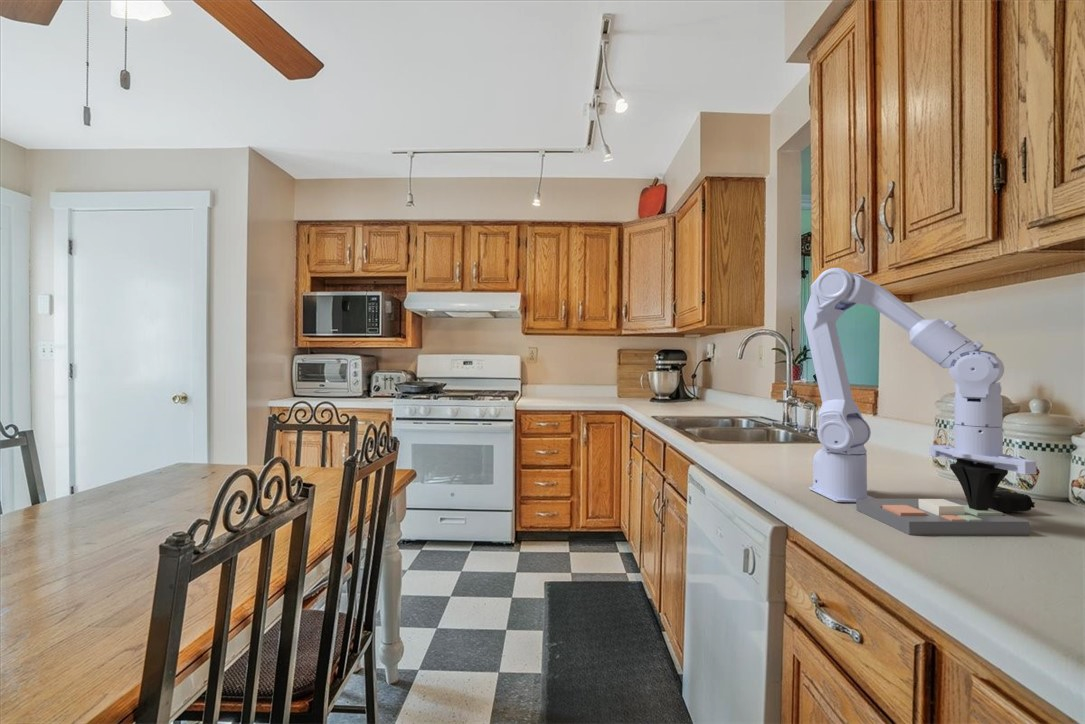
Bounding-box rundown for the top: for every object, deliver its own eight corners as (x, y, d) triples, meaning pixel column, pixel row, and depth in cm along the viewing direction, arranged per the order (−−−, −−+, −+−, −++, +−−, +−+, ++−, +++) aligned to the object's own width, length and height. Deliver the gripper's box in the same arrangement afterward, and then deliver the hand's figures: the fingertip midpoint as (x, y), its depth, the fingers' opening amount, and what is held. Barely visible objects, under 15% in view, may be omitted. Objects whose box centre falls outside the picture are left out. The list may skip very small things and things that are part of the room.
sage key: (955, 518, 77) (954, 505, 77) (979, 518, 77) (979, 505, 77) (977, 526, 73) (977, 512, 73) (1003, 526, 73) (1002, 512, 73)
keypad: (856, 509, 82) (856, 497, 82) (958, 509, 82) (958, 497, 82) (909, 534, 70) (909, 520, 70) (1029, 534, 70) (1029, 520, 70)
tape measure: (996, 516, 79) (996, 494, 79) (958, 504, 86) (958, 484, 86) (1035, 516, 79) (1035, 494, 79) (995, 504, 86) (995, 484, 86)
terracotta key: (882, 518, 77) (882, 505, 77) (906, 518, 77) (906, 505, 77) (900, 526, 73) (900, 512, 73) (926, 526, 73) (926, 512, 73)
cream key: (918, 512, 77) (918, 498, 77) (942, 512, 77) (942, 498, 77) (939, 520, 73) (938, 506, 73) (964, 520, 73) (964, 506, 73)
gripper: (914, 420, 82) (914, 497, 82) (1007, 432, 67) (1008, 525, 67) (948, 419, 83) (949, 495, 83) (1048, 431, 68) (1049, 523, 68)
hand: (978, 509), depth 75 cm, fingers closed, pressing on sage key
